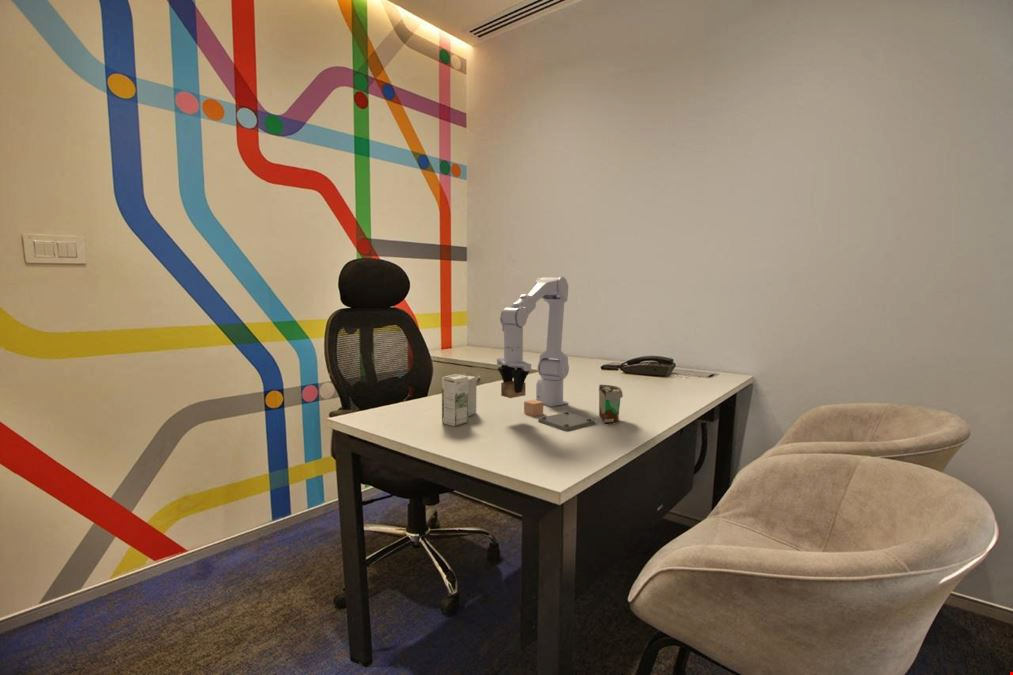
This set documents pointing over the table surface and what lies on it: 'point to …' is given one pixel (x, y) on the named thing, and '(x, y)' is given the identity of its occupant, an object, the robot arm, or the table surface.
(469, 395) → the skincare box
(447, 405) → the syrup box
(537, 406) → the terracotta block
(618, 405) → the food container
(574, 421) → the base plate
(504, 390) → the walnut brick
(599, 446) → the table surface
